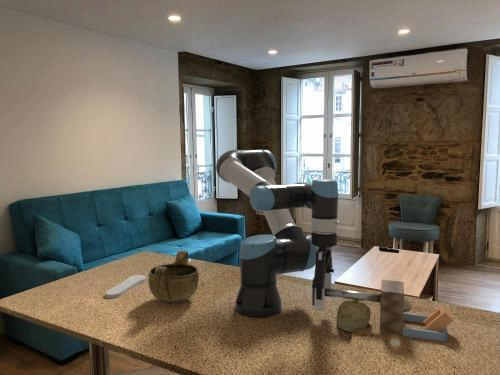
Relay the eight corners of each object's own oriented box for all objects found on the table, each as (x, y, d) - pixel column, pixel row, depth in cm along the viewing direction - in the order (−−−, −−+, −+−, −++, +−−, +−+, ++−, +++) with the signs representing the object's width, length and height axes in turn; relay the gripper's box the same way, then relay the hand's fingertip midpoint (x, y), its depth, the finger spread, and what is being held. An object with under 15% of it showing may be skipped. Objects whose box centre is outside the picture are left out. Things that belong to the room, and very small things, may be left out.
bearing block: (379, 336, 113) (380, 291, 111) (380, 321, 122) (381, 279, 121) (402, 339, 111) (404, 293, 109) (401, 324, 120) (403, 281, 119)
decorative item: (342, 343, 115) (364, 326, 110) (324, 312, 121) (344, 294, 115) (361, 336, 122) (383, 319, 116) (343, 307, 127) (364, 290, 121)
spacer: (424, 329, 111) (444, 312, 109) (423, 321, 116) (442, 305, 114) (433, 337, 110) (453, 320, 108) (431, 329, 115) (450, 313, 113)
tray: (402, 340, 110) (403, 328, 110) (401, 323, 121) (402, 312, 120) (447, 346, 107) (447, 334, 106) (442, 329, 117) (443, 317, 117)
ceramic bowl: (164, 287, 152) (163, 248, 151) (207, 290, 149) (207, 250, 147) (136, 311, 130) (134, 266, 129) (186, 315, 127) (185, 268, 126)
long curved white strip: (149, 279, 163) (149, 275, 162) (117, 300, 141) (117, 295, 141) (133, 278, 164) (133, 274, 164) (100, 298, 143) (99, 293, 143)
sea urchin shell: (415, 310, 125) (396, 291, 126) (395, 326, 127) (377, 307, 128) (410, 299, 134) (393, 281, 135) (392, 314, 136) (375, 296, 137)
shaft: (312, 305, 122) (312, 279, 121) (313, 301, 125) (314, 276, 124) (387, 314, 115) (388, 287, 114) (387, 310, 118) (388, 284, 117)
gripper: (331, 242, 107) (329, 319, 109) (342, 224, 130) (340, 288, 133) (302, 240, 110) (302, 315, 112) (318, 223, 133) (317, 285, 135)
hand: (323, 300), depth 122 cm, fingers open, 13 cm apart
